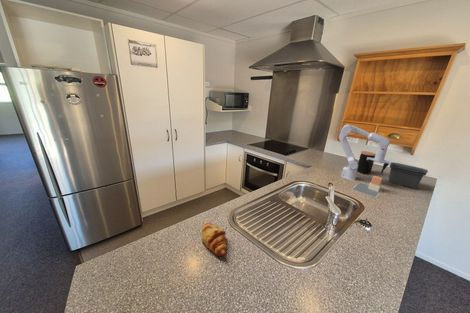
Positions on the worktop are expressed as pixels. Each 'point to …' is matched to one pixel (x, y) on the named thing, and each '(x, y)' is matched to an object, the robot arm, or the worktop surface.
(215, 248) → the croissant
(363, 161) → the coffee jar
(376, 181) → the terracotta block
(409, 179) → the storage bin
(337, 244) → the worktop surface
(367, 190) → the board
